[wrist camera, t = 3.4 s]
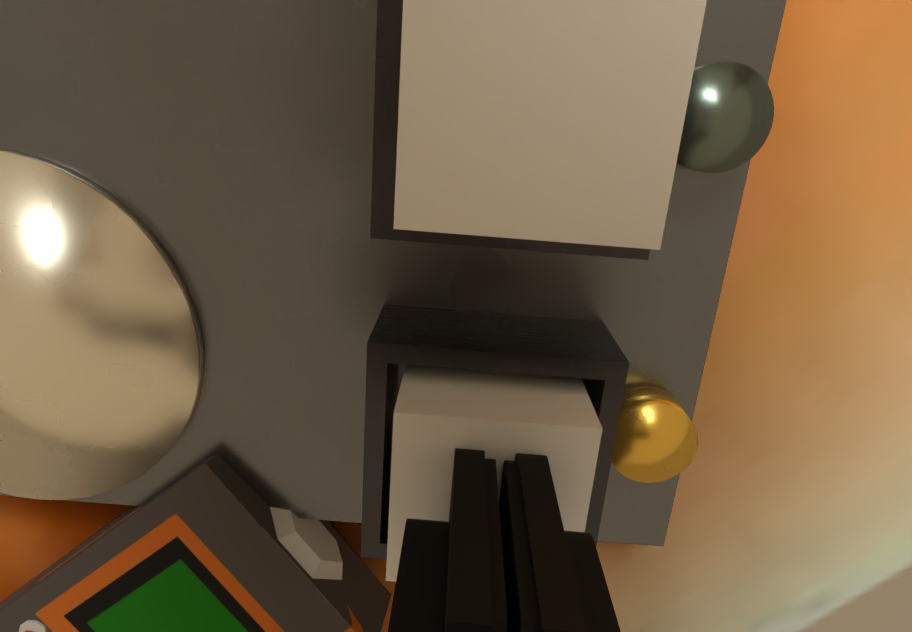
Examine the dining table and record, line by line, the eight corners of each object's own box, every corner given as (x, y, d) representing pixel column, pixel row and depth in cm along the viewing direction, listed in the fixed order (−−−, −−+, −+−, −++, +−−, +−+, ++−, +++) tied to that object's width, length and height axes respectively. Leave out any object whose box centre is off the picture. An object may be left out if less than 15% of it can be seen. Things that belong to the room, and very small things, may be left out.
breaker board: (-262, -130, 13) (-609, -245, 9) (754, -48, 13) (889, -123, 9) (-114, 441, 17) (-297, 544, 13) (642, 499, 18) (696, 619, 13)
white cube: (411, 339, 14) (393, 412, 10) (570, 352, 14) (602, 428, 10) (404, 476, 15) (385, 581, 11) (550, 487, 15) (573, 594, 11)
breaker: (426, -18, 10) (406, -81, 7) (637, -2, 10) (716, -56, 7) (415, 195, 11) (393, 228, 8) (604, 210, 11) (660, 249, 8)
